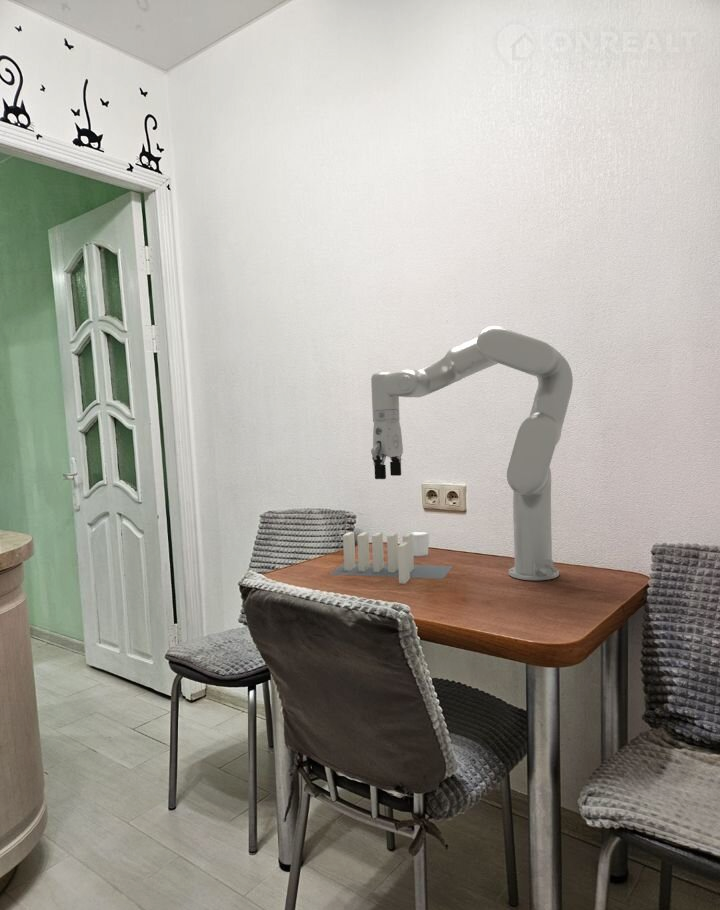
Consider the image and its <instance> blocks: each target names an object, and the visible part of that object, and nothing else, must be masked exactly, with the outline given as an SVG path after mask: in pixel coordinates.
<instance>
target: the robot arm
mask: <svg viewBox="0 0 720 910" xmlns="http://www.w3.org/2000/svg"><path fill="white" fill-rule="evenodd" d="M497 364H500V365H503V366H506V367H508V368H511V369H514V370H517V371H519V372H522V373H525V374H527V375H531V376H533V377H536V379H537V382H538V385H537V389H536V391H535V393H534V398H533V403H532V406H531V410H530V413H529V416H528V417H526V418H525V419H524V420H523V421H522V422H521V424H520V426H519V428H518V430H517V433H516V437H515V441H514V445H513V448H512V451H511V454H510V458H509V463H508V467H507V469H506V481H507V485H508V486H509V487H510V489H511V491H512V493H513V494H512V495H513V496H512V499H513V501H512V503H513V505H512V510H513V514H512V515H513V516H512V517H513V522H512V523H513V550H514V556H513V557H514V566H513V567H511V568H509V569H508V575H509V576H510V577H512V578H514V579H516V580H517V579H518V580H523V581H547V580H554V579H556V578H557V577H559V574H560V573H559V572H560V571H559V570H558V568H557V567H555V566H554V560H553V547H552V543H553V542H552V539H553V537H552V470H551V467H550V466H551V462H552V459H553V457H554V452H555V449H556V446H557V444H558V443H559V442H560V439H561V436H562V430H563V425H564V422H565V418H566V415H567V412H568V406H569V403H570V399H571V394H572V392H573V391H572V390H573V381H574V379H573V372H572V369H571V366H570V364H569V362H568V361H567V359H566V358H565V357H564V355H562V354H561V353H560V352H559V351H558V350H557V349H556V348H555V347H554V346H552V345H550V344H549V343H548V342H545V341H543V340H539V339H538V338H534V337H531V336H528V335H524V334H522V333H518V332H516V331H513V330H510V329H507V328H505V327H503V326H501V325H500V326H499V325H490V326H488V327H486V328H484V329H483V330H482V331H481V332H480V333H479V334H478V336H477V337H475V338H473V339H471V340H468V341H466V342H463V343H461V344H460V345H457V346H454V347H452V348H451V349H449V350H448V351H447V353H446V354H445V355H444V356H443V357H442V358H441V359H439V360H438V361H436V362H434V363H432V364H430V365H428V366H426V367H424V368H421V369H419V370H417V369H416V370H415V369H402V370H398V371H385V372H384V371H383V372H381V371H380V372H375V373H373V374H372V376H371V379H370V380H371V382H370V383H371V385H370V386H371V406H372V407H371V410H372V423H373V428H372V429H373V431H372V433H373V434H372V448H371V450H370V452H371V457H372V461H373V463H372V464H373V465H374V467H373V468H374V479H375V480H386V479H387V471H386V470H387V469H386V467H387V466H386V464H385V462H386V458H389V459H390V463H389V464H390V465H389V466H390V467H389V468H390V469H389V470H390V476H392V477H397V476H398V477H399V476H401V475H402V455H403V454H404V451H403V450H404V448H403V436H402V435H403V434H402V427H401V422H400V421H401V420H400V399H399V398H400V397H402V398H422V397H425V396H427V395H430V394H432V393H435V392H437V391H439V390H442V389H444V388H446V387H448V386H451V385H452V384H454V383H457V382H459V381H462V380H463V379H465V378H466V377H470V376H472V375H475V374H476V373H478V372H481V371H483V370H486V369H488V368H490V367H493V366H495V365H497Z"/></svg>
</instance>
